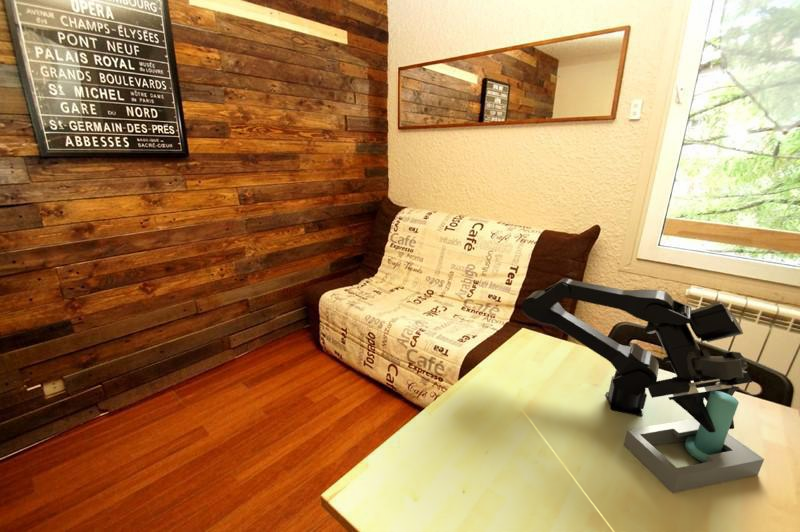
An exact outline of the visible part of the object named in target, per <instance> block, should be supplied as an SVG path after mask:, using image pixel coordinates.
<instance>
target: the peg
mask: <svg viewBox="0 0 800 532" xmlns="http://www.w3.org/2000/svg"><path fill="white" fill-rule="evenodd" d="M739 403H740V402H739V400H737V398H736V397H734V395H733V396H731V395H729V394H726V393H723V392H720V391H712V392H710V395H709V398H708V401H706V404H705V407H706V409H707V411H708V413H709V416H710V418H711V420H712V423H713V425H714V428H715V432H711V433H710V432H708V431H707V430H706V429H705V428H704V427H703V426H702V425H701V424H700V425H699V428H698V431H697V434H696V435H691V436H688V437H687V438H686V440H685V442H684V448H685V450H686V451H687V452H688V453H689V454H690V455H691V456H692V457H694V458H695V459H697V460H698V461H699V462H702V463H705V462H708V461H707V460H706V457H707V455H712V454H717V453H722V452H726V450H725V449H723V448H722V447H723V445H724V442H725V439H726V436H727V434H729V430H730V429H729V428H730V425H731V423H732V420H733V421H734V418H735V414H736V412H737V408H738V406H739Z"/></svg>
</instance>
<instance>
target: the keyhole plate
mask: <svg viewBox="0 0 800 532" xmlns="http://www.w3.org/2000/svg"><path fill="white" fill-rule="evenodd" d="M699 425H700V423H699V422H698V421H697V420H695V419H694V418H689V419H685V420H684V419H683V420H678V421H673V422H667V423H660V424H653V425H649V426H643V427H637V428H631V429H627V430H626V434H625V438H624V442H623V446H624V447H625V448H626V449H628V451H629V452H630V453H631V454H632V455H633V456H634V457H636V458H637V459H638V460H639V462H640V463H641V464H643V466H645V467H646V468H647V470H648V471H649V472H651V474H652V475H654V476H655V478H657V480H659V481H660V482H661V483H662V485H664V486H665V487H666V488H667V489H668V491H670V492H671V493H672V494H675V493H679V492H684V491H688V490H689V491H690V490H693V489H699V488H703V487H707V486H712V485H716V484H718V485H719V484H722V483H727V482H730V481H731V482H732V481H735V480H741V479H745V478H749V477H750V478H751V477H756V476H758V475H759V474H760V471H761V468H762V466H763V463H764V461H765V458H763V457H762V456H761V455H759V454H757V452H755V451H754V450H752V449H751V448H750V447H748V446H746V445H745V444H744V443H743V442H741V441H740V440H738V439H737V438H735V437H734V436H732V435H730V434H729V433H728V434H727V436H726V439H725V442H724V445H723V447H722V448H723V449H725V450H726V452H722V453H717V454H712V455H707V457H706V460H707V461H708V462H705V463H704V462H702V463H695V464H691V465H685V466H680V467H676V466H675V464H673V463H672V462H671V461H670V460H669V459H667V457H665V456H664V454H662V453H661V451H659V450H657V448H655V447H656V446H663V445H667V444H674V443H679V442H684V441H685V442H686V438H687V437H688V436H691V435H696V434H697V431H698V428H699Z"/></svg>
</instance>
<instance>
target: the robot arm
mask: <svg viewBox="0 0 800 532" xmlns="http://www.w3.org/2000/svg"><path fill="white" fill-rule="evenodd" d="M564 299H572V300H575V301H580V302H584V303H588V304H589V303H590V304H595V305H599V306H602V307H608V308H612V309H617V310H621V311H623V312H625V313H627V314H628V315H631V316H632V317H634V318H636V319H638V320H642V321H644V322H646V323H647V325H646V326H645V328H644V329H643V332H644V333H645V334H650V335H652V334H655V333H656V336H657V338H658V340H659V342H660V343H661V346H662V348H663V350H664V353H665V354H666V356H665V357H662V359H663V361H664V363H670V365H671V367H672V369H673V371H674V373H675V376H673V377H672V378H666V379H661V380H658V374H659V369H660V368H659V367H660V365H659V361H658V360H657V358H656V357H655V356H653V352H652V351H649V350H647V349H644V348H642V347H641V346H640V345H639V344H637V343H635V342H633V343H632V344H631V346H628V345H623V344H620V343H618V342H617V341H615V340H614V339H612V338H611V337H609V336H607V335H605V334H604V333H602V332H600V331H598V330H597V329H596V328H594V327H592V326H591V325H589V324H587V323H586V322H584V321H582V320H581V319H579V318H578V317H577V316H574V315H573V314H571V313H569V312H568V311H566V310H565V309H564V308H563V307H562V305H561V304H560V301H563V300H564ZM521 305H522V310H523V314H524V315H525V316H526V317H527V318H529V319H531V320H533V321H536V322H538V323H539V324H543V325H544V324H545V325H547V326H548V325H549V326H553V327H554V328H556V329H558V330H560V331H561V332H563V333H565V334H566V335H568V336H569V337H571V338H572V339H574V340H575V341H576V342H579V343H580V344H581V345H584V346H585V347H587V348H588V349H590V350H591V351H593V352H594V353H596V354H597V355H599V356H600V357H602V358H603V359H605V360H607V362H609V363H610V364H611V365H612V366H613V368H614V369H615V373H614V375H612V376H611V380H610V385H609V390H608V391H606V392H605V396H606V399H607V402H608V405H609V409H610V410H611V411H614V412H619V413H623V414H629V415H635V416H640V417H643V415H644V414H643V413H644V412H643V411H642V410H644V407H645V405H646V400H647V396H648V394H647V392H646V390H648V392H649V395H650V397H651V398H659V397H665V396H669V395H672V396H669V397H668V400H669V401H674V403H676V404H677V405H678V406H680V407H681V408H682V410H684V411H685V412H687V413H688V414H689V415H690V416H691V417H692V419H695V420H697V421H698V422H699V423H700V424H701V425H702V426H703V427H704V428H705V429H706V430H707V431H708V432H710V433H711V432H715V428H714V425H713V423H712V420H711V418H710V416H709V413H708V411H707V409H706V404H705V402H704V400H706V402H707V401H708V398H709V395H710V392H712V391H720V392H723V393H726V394H729V395H731V396H733V397H734V394H735V392H736V391H737V390H739V389H740V386H738V385H742V384H749V383H753V380H752V377H751V376H750V374H749V373H748V371H745V370H746V369H747V368H749V364H748V363H747V361H746V359H745V358H744V356H743V355H742V353H741V352H740V351H726V352H724V353H723V355H720V356H714V355H713V356H712V355H711V354H710V351H708V350H707V349H706V348H702V349H701V348H700V346H699V345H698V342H697V340H696V339H695V337H696V338H697V339H699V340H701V341H702V342H707V343H711V342H715V341H718V340H723V339H728V338H731V337H735V336H736V337H737V336H740V335H743V334H744V332H743V329H742V326H741V325H740V323H739V322H738V319H737V318H736V316H735V315H734V314H733V312H732V311H730V310H729V309H728V308H727V306H726V305H725V304H724V303H723V301H721V300H718V301H715V302H713V303H710V304H709V305H706V306H702V307H699V308H695V309H692V307H691V306H690V305H689V304H685V303H683V302H680V301H679V300H677V299H674V298H673V297H672V295H670V294H669V293H668V292H666V291H664V290H660V289H647V288H646V289H643V288H641V289H640V288H639V289H631V290H630V289H628V290H627V289H621V288H616V287H609V286H605V285H601V284H600V285H599V284H594V283H588V282H585V281H579V280H574V279H571V278H568V277H563V278H561V279H560V280H559V281H558V282H556V283H554V284H553V285H550V286H548V287H547V288H545V289H544V290H541V289H540V290H536V291H534V292H532V293H531V294H530V295H528V297H526V298H525V300H524V301H523V302H522V304H521ZM688 324H689V325H688ZM689 326H690V327H689ZM690 328H691V329H690ZM692 332H693V333H694V335H695V337H694V335H693V333H692ZM692 381H693V382H692ZM732 386H733V387H732ZM700 388H701V389H702V388H703V389H705V391H700V392H699V390H698V389H700ZM733 429H735V422H734V419H733V420H732V423H731V425H730V428H729V430H733Z"/></svg>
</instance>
